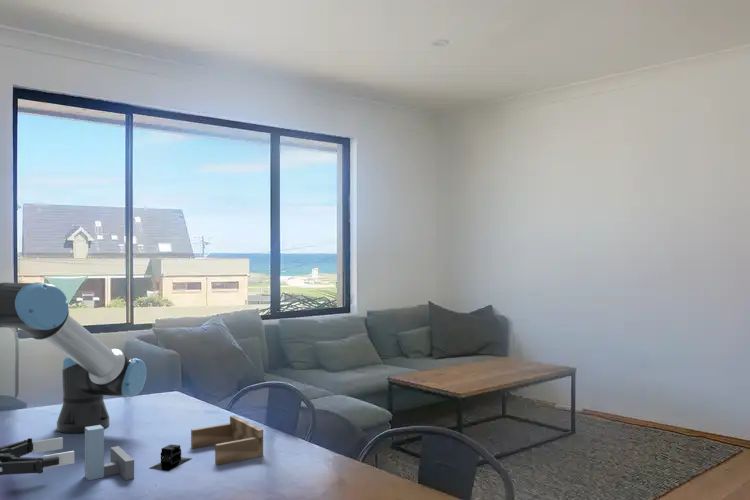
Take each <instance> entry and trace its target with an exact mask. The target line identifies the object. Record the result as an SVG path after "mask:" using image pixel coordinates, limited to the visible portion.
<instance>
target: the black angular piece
mask: <svg viewBox="0 0 750 500" xmlns="http://www.w3.org/2000/svg"><path fill="white" fill-rule="evenodd" d="M191 460H193V458H190V457H182V448H181V445H180V444H179V445H178V444H173V443H172V444H168V445H166V446H164V447H162V448H161V452H160V462H159V463H157V464H154V465H153V466H150V467H149V468H148V469H150V470H156V471H163V472H169V471H172V470H174V469H175V468H178V467H179V466H181V465H184V464H185V463H188V462H189V461H191Z"/></svg>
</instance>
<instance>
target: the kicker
mask: <svg viewBox="0 0 750 500" xmlns="http://www.w3.org/2000/svg"><path fill="white" fill-rule="evenodd" d="M113 475H120V476H121V477H122V478H123V479H124V480H125V481H128V480H134V479H135V459H134V458H132V456H130V455H129V454H128V452H126V451H125V450H124V449H122V448H121V446H119V445H117V446H112V447H110V462H106V463H105V428H103V427H102V426H101V425H96V426H90V427H85V432H84V478H86V480H87V481H91V480H97V479H101V478H105V477H109V476H113Z"/></svg>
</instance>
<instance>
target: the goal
mask: <svg viewBox="0 0 750 500" xmlns="http://www.w3.org/2000/svg"><path fill="white" fill-rule="evenodd" d="M190 442H191V443H190V447H191V449H198V448H202V447H203V448H204V447H208V446H214V445H215V446H214V456H215V457H214V462H215V463H214V464H215V465H216V466H219V465H226V464H229V463H234V462H239V461H243V460H244V461H245V460H249V459H254V458H258V457H263V456H264V429H263V428H261V427H259V426H257V425H254V424H252V423H250V422H249V421H246V420H245V419H243V418H240V417H239V416H237V415H231V416H229V422H228V423H222V424H217V425H211V426H204V427H198V428H192V429H190Z"/></svg>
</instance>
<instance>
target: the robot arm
mask: <svg viewBox="0 0 750 500" xmlns="http://www.w3.org/2000/svg"><path fill="white" fill-rule="evenodd" d="M67 300H68V298H67V296H66V294H65V293H64V291H62V289H61V288H59V287H58V286H56V285H54V284H51V283H44V282H39V281H38V282H0V328H7V329H8V328H9V329H11V328H12V329H19V330H21V331H23V332H24V333H26V335H28V336H29V337H31V338H32V339H34V340H38V341H43V340H45V341H47V342H48V343H49V344H50V345H52V346H53V347H54V348H56V349H57V350H58V351H60V352H61V353H62V354H64V355H65V356H66V357H65V358H64V359H63V361H62V364H63V365H62V371H61V372H62V406H61V409H60V412H59V415H58V417H57V420H56V431H57V432H59V433H65V434H81V433H82V434H83V433H85V427H90V426H96V425H101V426H102V427H103V428H104V429H105V428H107V427H109V426H110V415H109V412H108V410H107V406H106V403H105V401H104V396H106V397H120V398H121V397H122V398H133V397H134V398H135V397H136V396H137V395H138V394H140V393H141V392H142V390H143V388H144V386H145V383H146V380H147V366H146V364H145V362H144V361H143V360H142V359H140V358H137V357H134V358H131V357H128V356H127V355H126V353H124V352H122V350H121V349H117V348H109V347H108V346H107V345H106V344H104V343H103V342H102V341H101V340H100V339H98V337H96V336H95V335H94V334H92V333H91V332H90V331H89V330H88V329H86V328H85V327H84V326H83V325H81V323H80V322H78V321H77V320H76V319H74V318H73V317H72V316H71V315H70V309H69V302H67ZM63 449H64V437H63V436H60V437H55V438H47V439H39V440H34V441H33V438H31V437H29V438H27V439H24V440H20V441H17V442H13V443H9V444H7V445H2V446H0V476H3V475H4V476H5V475H8V476H9V475H23V474H24V475H25V474H28V475H29V474H38V475H40V474H43V473H44V469H48V468H49V469H50V468H56V467H61V466H67V465H72V464H75V450H70V451H63V452H58V453H57V452H56V453H52V454H45V455H42V457H27V456H26V457H25V455H28V454H30V453H32V454H38V453H39V454H40V453H45V452H51V451H56V450H63Z"/></svg>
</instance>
